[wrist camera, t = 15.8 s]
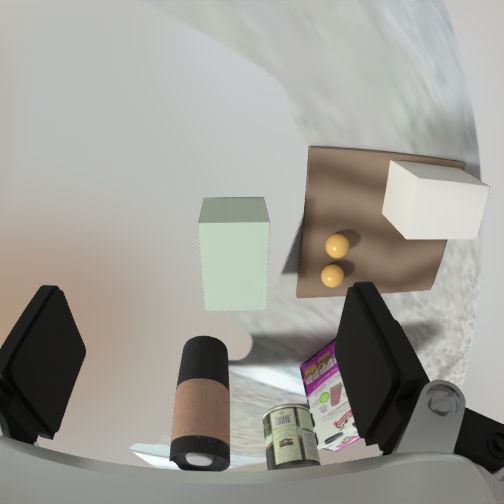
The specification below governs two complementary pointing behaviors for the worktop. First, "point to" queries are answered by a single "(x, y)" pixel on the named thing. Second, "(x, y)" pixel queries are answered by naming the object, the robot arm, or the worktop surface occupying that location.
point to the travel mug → (202, 408)
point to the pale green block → (234, 252)
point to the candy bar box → (328, 401)
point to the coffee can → (289, 438)
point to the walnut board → (360, 225)
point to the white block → (434, 201)
